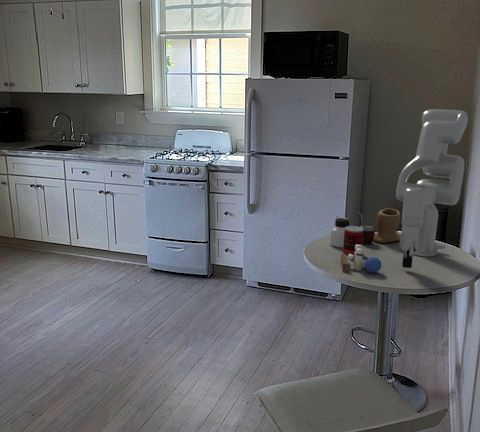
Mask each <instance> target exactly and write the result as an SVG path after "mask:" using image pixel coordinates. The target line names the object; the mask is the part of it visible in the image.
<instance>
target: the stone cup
mask: <svg viewBox="0 0 480 432" xmlns="http://www.w3.org/2000/svg"><path fill="white" fill-rule="evenodd" d="M400 222H401V213H400V211H399V210H397V209H394V208H389V207H388V208H387V207H386V208H383V209H380V210H379V211H378V212H377V217H376V227H377V233H375V235H374V239H373V241H374V242H378V243H389V242H395V241H397V242H398V241H400V237H401V233H400V231H397V229H398V227H399V225H400Z"/></svg>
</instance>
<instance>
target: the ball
mask: <svg viewBox="0 0 480 432" xmlns="http://www.w3.org/2000/svg"><path fill="white" fill-rule="evenodd" d="M365 261H366V262H365V267H366V268H365V267H364V268H365V269H366V270H367V272H369V273H373V274H375V273H377V272H379V271H380V270H381V269H382V261H381V260H380V259H379V258H378V257H375V256H370V257H368V258H367V259H366V260H365Z"/></svg>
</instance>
